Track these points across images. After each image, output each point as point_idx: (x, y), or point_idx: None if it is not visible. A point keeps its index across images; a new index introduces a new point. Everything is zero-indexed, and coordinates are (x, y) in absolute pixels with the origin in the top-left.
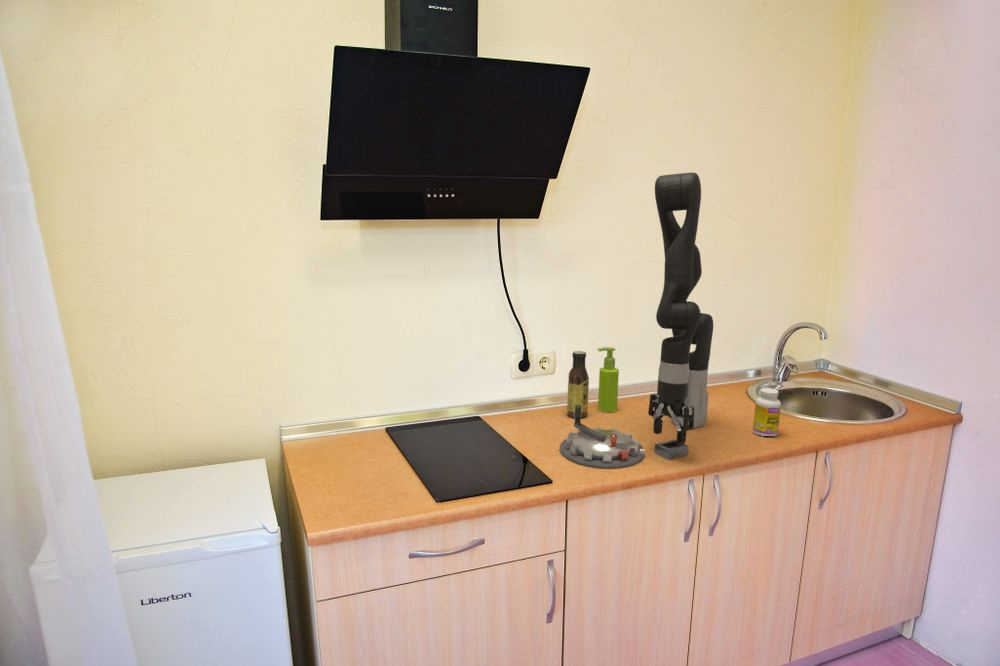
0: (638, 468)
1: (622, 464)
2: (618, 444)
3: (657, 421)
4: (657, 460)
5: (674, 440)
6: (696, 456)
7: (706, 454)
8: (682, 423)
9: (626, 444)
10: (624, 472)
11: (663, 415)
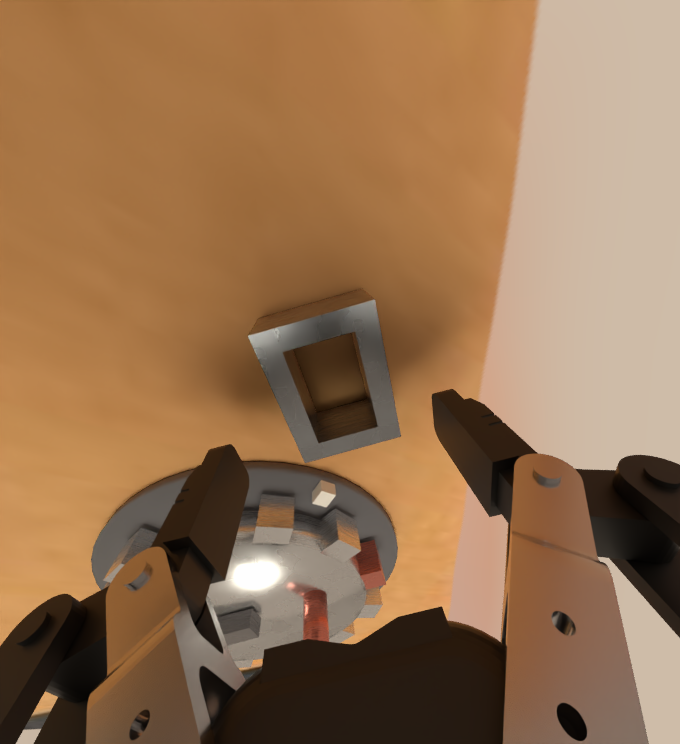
0: (414, 510)
1: (395, 551)
2: (303, 583)
3: (219, 566)
4: (378, 444)
5: (270, 348)
6: (398, 251)
7: (394, 157)
8: (526, 533)
9: (310, 565)
10: (422, 542)
11: (188, 609)
